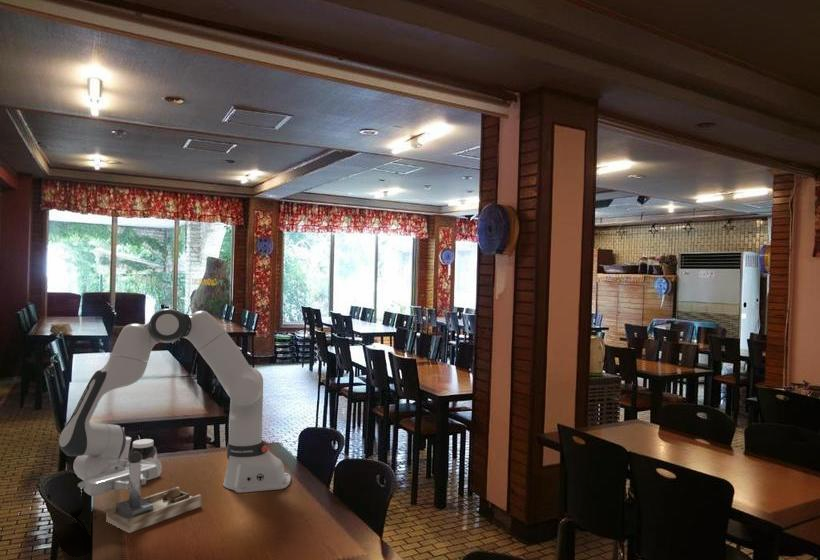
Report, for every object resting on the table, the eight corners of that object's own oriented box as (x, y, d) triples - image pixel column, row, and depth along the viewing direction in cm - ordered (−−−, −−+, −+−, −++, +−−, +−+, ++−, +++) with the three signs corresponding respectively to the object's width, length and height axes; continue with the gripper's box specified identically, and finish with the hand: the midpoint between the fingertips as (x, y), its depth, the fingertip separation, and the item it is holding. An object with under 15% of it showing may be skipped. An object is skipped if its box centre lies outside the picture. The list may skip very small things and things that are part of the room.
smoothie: (123, 468, 213) (123, 430, 213) (108, 466, 214) (108, 428, 214) (134, 462, 219) (135, 425, 219) (120, 461, 220) (120, 424, 220)
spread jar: (139, 469, 212) (139, 437, 212) (169, 469, 212) (170, 438, 211) (121, 480, 200) (122, 447, 200) (154, 481, 200) (154, 447, 200)
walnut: (182, 498, 180) (182, 485, 180) (178, 503, 176) (178, 490, 176) (168, 498, 179) (169, 485, 179) (164, 503, 175) (164, 490, 175)
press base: (129, 533, 160) (129, 519, 160) (106, 522, 167) (106, 508, 167) (201, 506, 179) (201, 494, 179) (177, 497, 186) (177, 485, 186)
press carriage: (133, 521, 162) (133, 457, 162) (115, 513, 167) (116, 451, 167) (155, 513, 168) (156, 451, 168) (138, 505, 173) (138, 445, 173)
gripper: (74, 473, 166) (100, 483, 158) (142, 455, 183) (168, 463, 175) (74, 495, 166) (100, 506, 158) (142, 475, 183) (168, 484, 175)
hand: (136, 484), depth 167 cm, fingers closed on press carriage, 3 cm apart
